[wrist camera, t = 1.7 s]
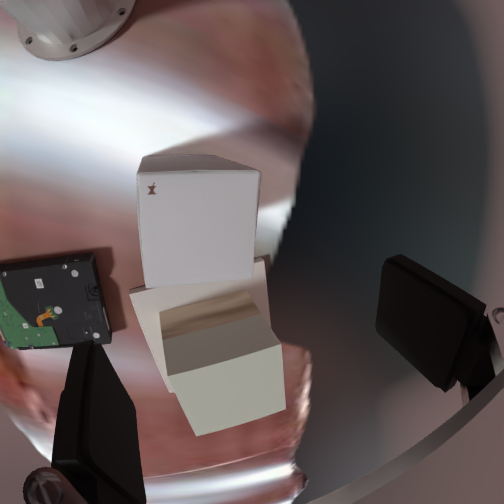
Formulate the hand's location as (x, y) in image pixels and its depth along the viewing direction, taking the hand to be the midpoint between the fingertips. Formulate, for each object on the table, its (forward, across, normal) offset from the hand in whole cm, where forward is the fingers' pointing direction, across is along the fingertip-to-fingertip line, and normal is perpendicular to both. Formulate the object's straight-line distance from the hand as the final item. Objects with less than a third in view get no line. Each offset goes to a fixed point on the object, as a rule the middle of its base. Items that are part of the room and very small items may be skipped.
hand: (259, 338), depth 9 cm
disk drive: (+23, +18, +8) cm, 30 cm away
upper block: (+17, 0, +17) cm, 24 cm away
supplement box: (+23, 0, 0) cm, 23 cm away
